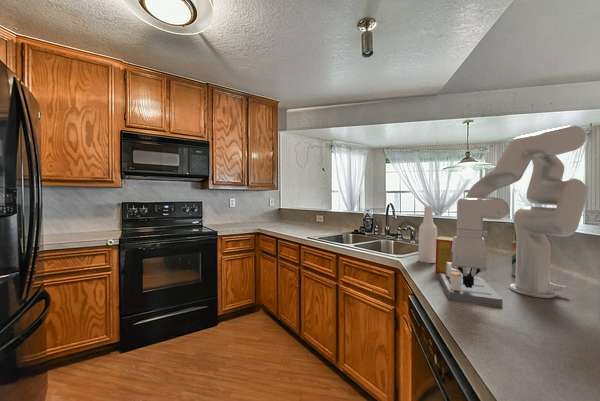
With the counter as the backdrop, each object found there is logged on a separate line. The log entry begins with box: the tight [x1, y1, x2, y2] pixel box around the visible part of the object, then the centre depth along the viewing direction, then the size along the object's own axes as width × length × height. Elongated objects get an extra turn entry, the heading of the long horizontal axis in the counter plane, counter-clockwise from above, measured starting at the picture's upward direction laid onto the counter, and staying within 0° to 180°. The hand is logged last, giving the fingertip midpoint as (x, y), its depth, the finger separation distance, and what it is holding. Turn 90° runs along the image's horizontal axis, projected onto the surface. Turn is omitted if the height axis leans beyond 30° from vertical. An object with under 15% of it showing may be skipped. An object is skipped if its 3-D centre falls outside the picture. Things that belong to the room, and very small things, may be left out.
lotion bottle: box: [511, 231, 516, 277], centre depth 117 cm, size 6×6×20 cm
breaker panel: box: [438, 273, 504, 308], centre depth 98 cm, size 15×24×3 cm, turn 159°
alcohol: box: [417, 205, 438, 264], centre depth 141 cm, size 9×9×30 cm
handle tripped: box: [450, 272, 461, 291], centre depth 92 cm, size 2×4×5 cm, turn 159°
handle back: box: [446, 262, 452, 277], centre depth 107 cm, size 2×4×5 cm, turn 159°
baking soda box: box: [435, 236, 454, 274], centre depth 123 cm, size 10×6×16 cm
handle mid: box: [450, 267, 461, 281], centre depth 100 cm, size 2×4×5 cm, turn 159°
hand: (468, 286), depth 91 cm, fingers closed
